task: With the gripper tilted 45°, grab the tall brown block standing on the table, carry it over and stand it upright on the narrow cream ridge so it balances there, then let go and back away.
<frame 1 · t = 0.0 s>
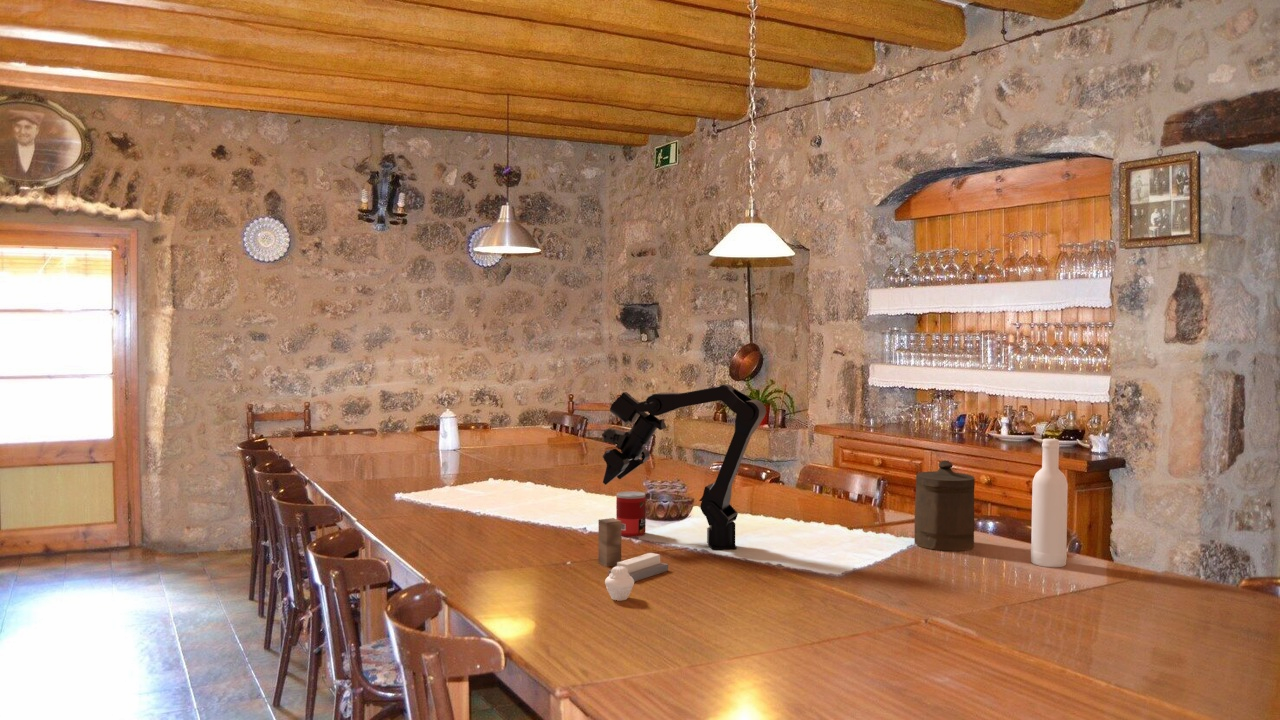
hand: (611, 480, 258), 15 cm above the table, tool tilted 35°, fingers open, 9 cm apart
tall brown block: (609, 563, 229), on the table
ridge block: (638, 573, 220), on the table
bottle: (1048, 564, 230), on the table
muffin: (619, 599, 200), on the table
canned food: (630, 534, 261), on the table
wooden container: (943, 545, 249), on the table
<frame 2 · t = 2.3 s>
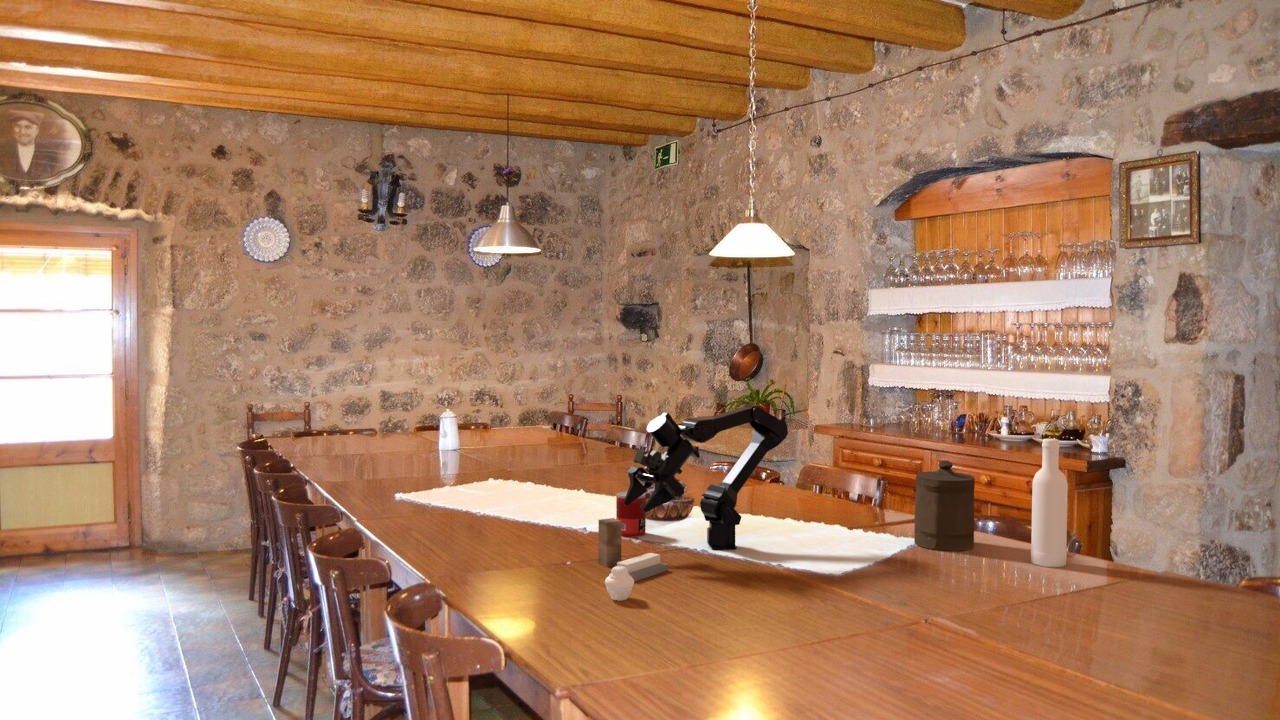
hand: (634, 507, 232), 13 cm above the table, tool tilted 45°, fingers open, 9 cm apart
nothing on the table moved.
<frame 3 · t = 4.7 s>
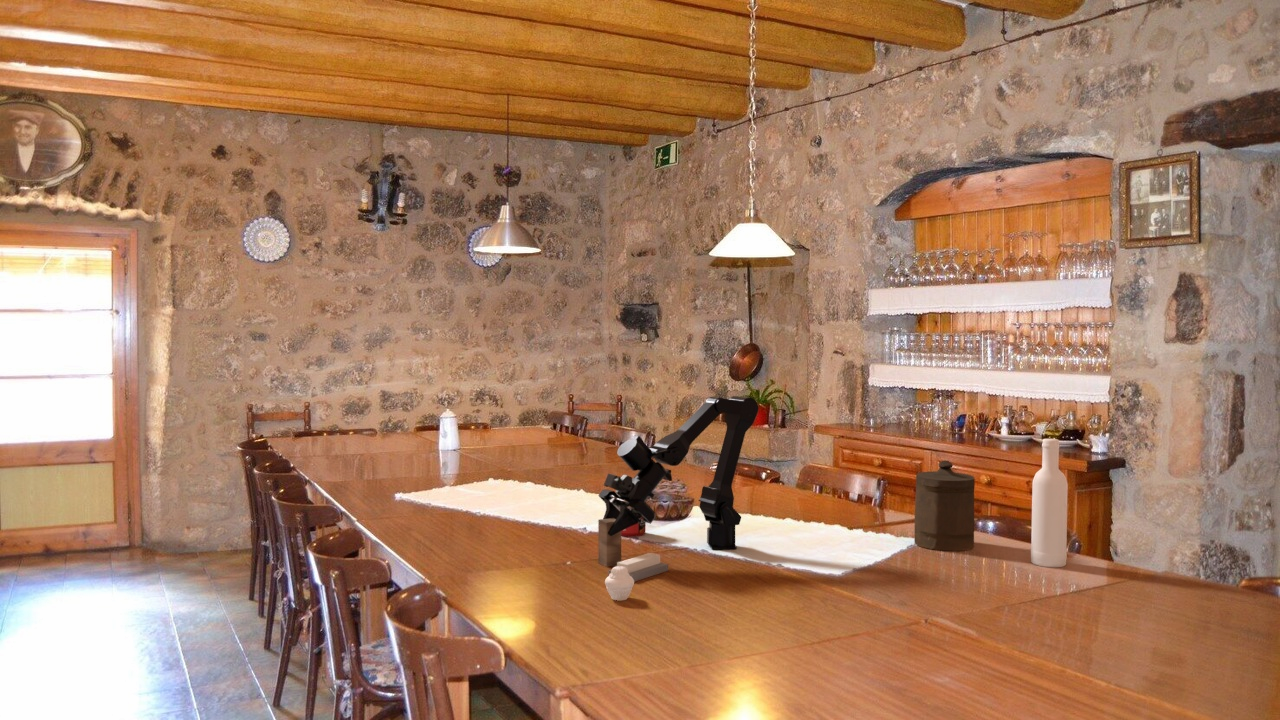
hand: (604, 533, 228), 8 cm above the table, tool tilted 45°, fingers closed on tall brown block, 4 cm apart
tall brown block: (609, 563, 229), on the table, touching gripper
everything else where it was.
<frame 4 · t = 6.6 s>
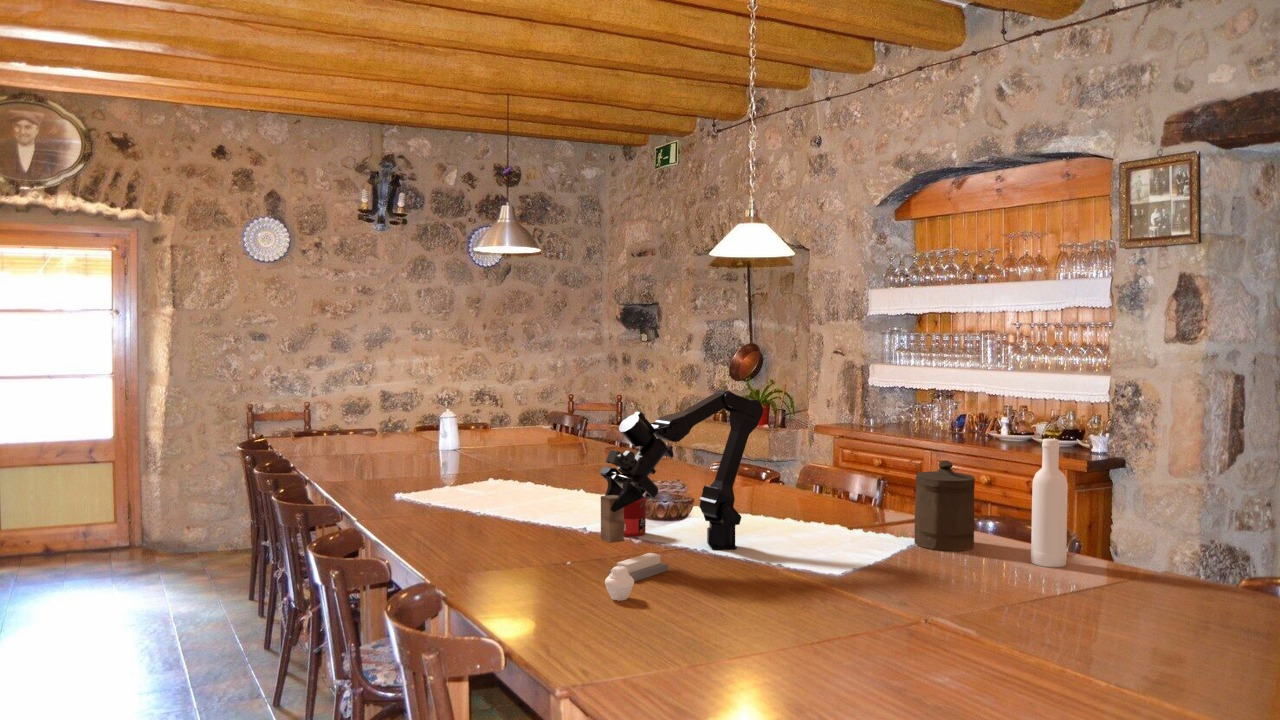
hand: (607, 509, 226), 13 cm above the table, tool tilted 45°, fingers closed on tall brown block, 4 cm apart
tall brown block: (612, 540, 228), point 6 cm above the table, touching gripper
everything else where it was.
when the fingers open (12 cm above the table, at t = 8.5 s): tall brown block stays where it is, resting on ridge block.
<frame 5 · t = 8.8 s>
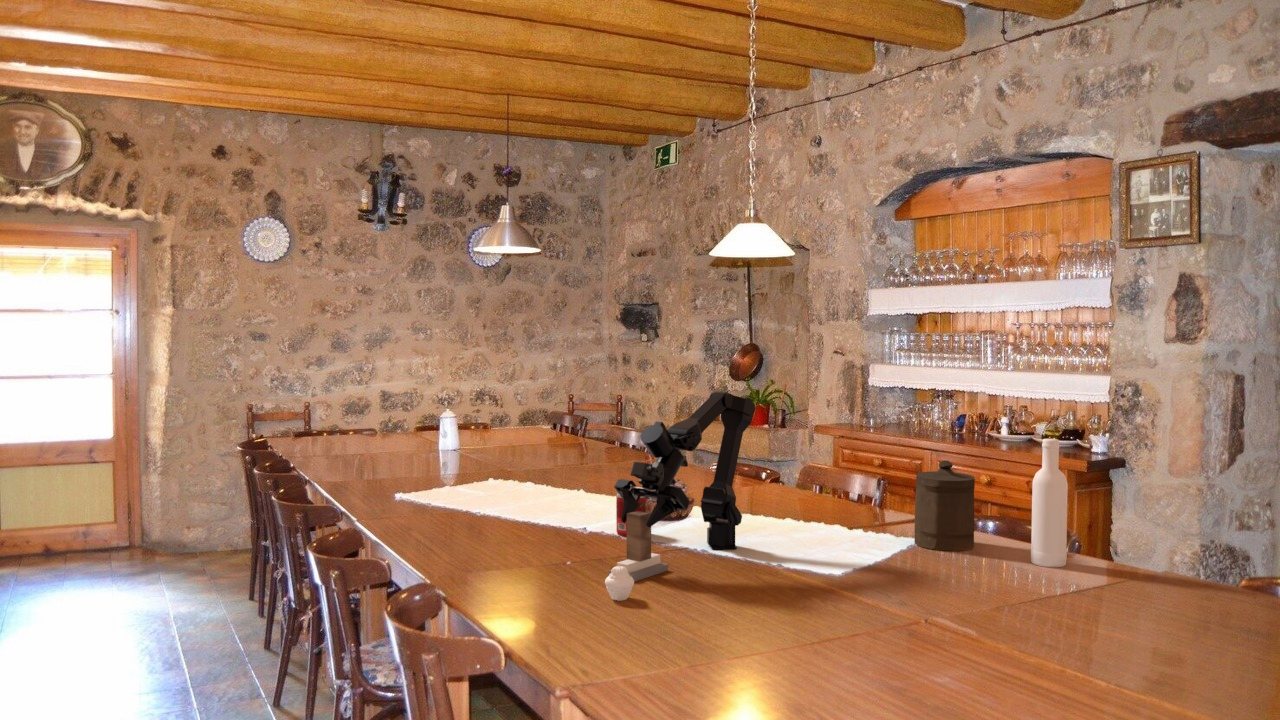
hand: (635, 523, 218), 12 cm above the table, tool tilted 45°, fingers open, 7 cm apart
tall brown block: (638, 558, 220), point 3 cm above the table, touching ridge block
everything else where it was.
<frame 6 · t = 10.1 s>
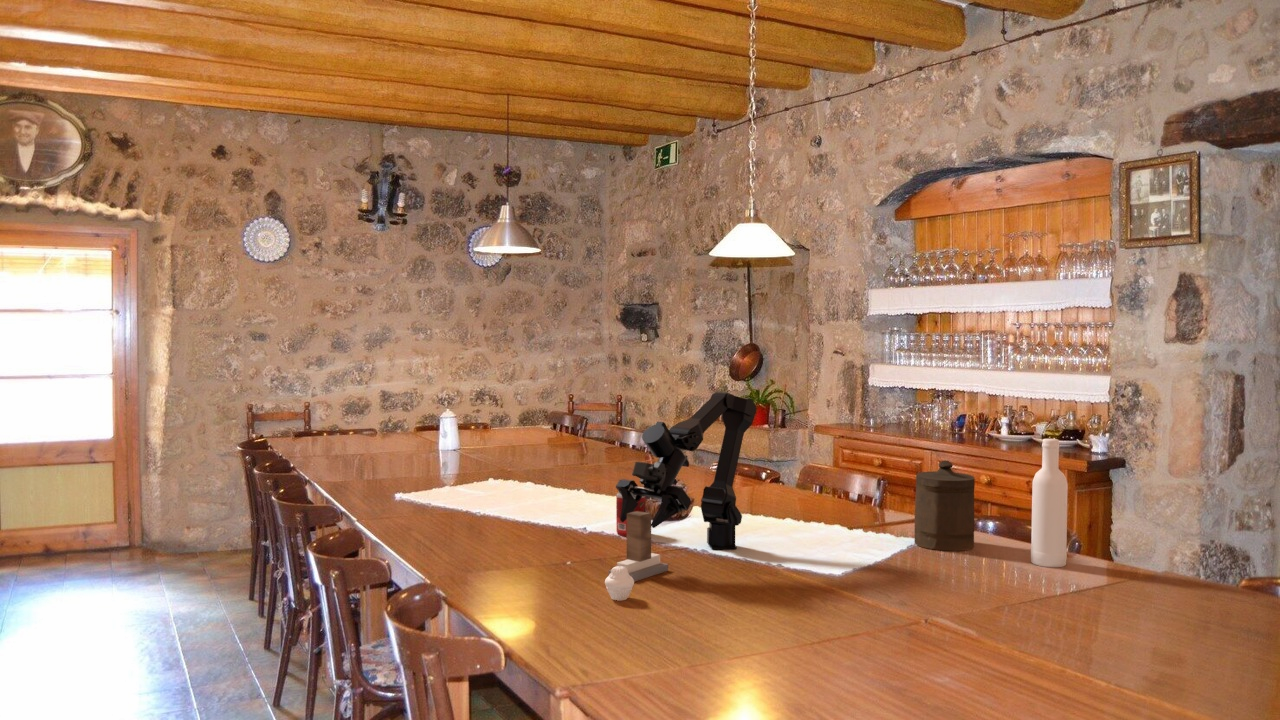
hand: (636, 523, 219), 12 cm above the table, tool tilted 45°, fingers open, 9 cm apart
nothing on the table moved.
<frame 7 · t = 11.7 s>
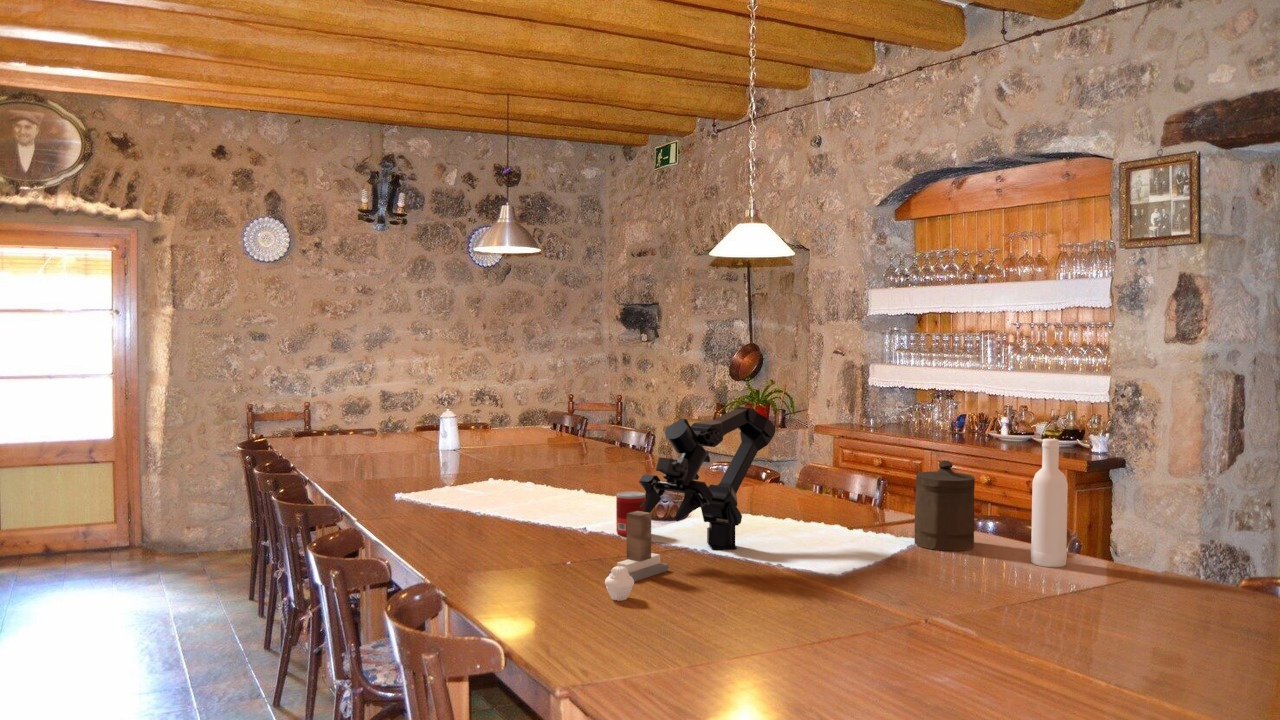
hand: (660, 517, 226), 12 cm above the table, tool tilted 45°, fingers open, 9 cm apart
nothing on the table moved.
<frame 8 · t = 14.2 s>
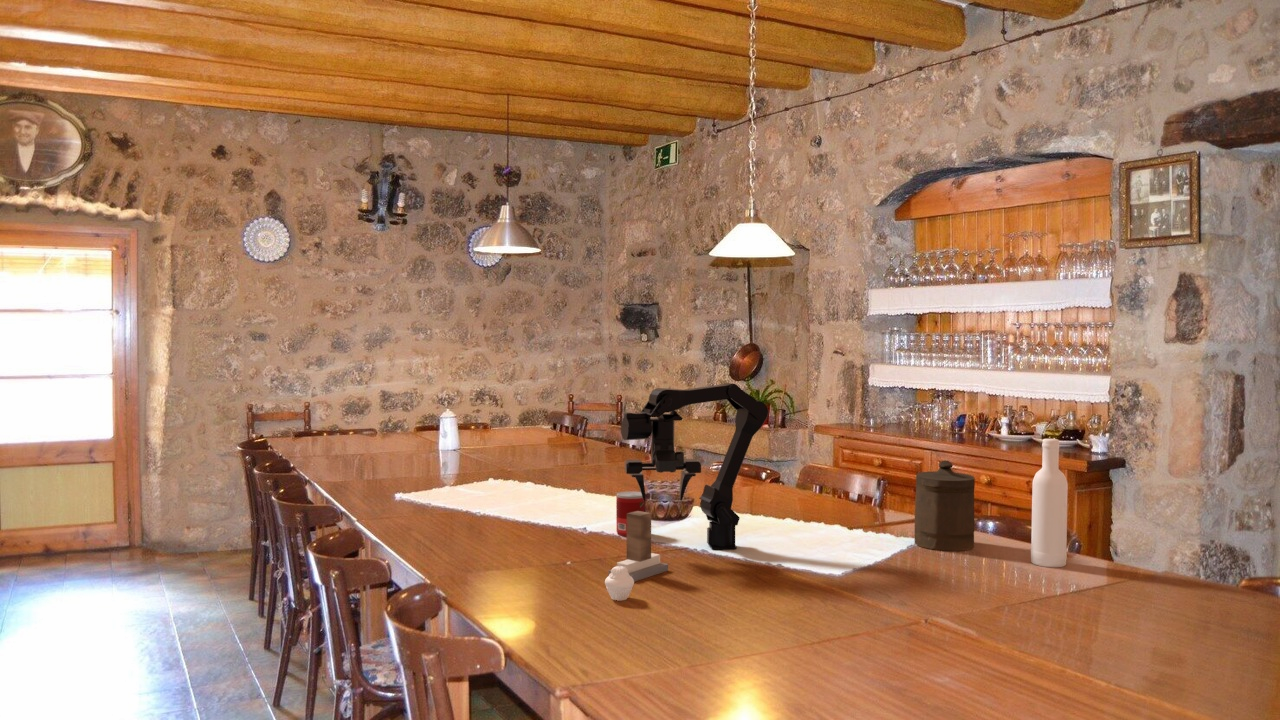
hand: (662, 500, 240), 13 cm above the table, tool pointing down, fingers open, 9 cm apart
nothing on the table moved.
at the end: tall brown block inside the target area on the ridge block (0.0 cm from its centre), point 3.5 cm above the ridge block's base; tall brown block tilted 0°; the gripper is holding nothing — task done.
